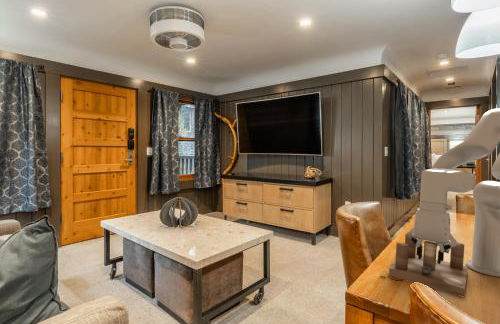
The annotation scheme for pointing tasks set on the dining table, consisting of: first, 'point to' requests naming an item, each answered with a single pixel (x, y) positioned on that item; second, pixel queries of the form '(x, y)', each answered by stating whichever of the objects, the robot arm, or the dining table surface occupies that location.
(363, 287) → the dining table surface
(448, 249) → the driftwood
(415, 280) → the stool
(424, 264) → the hinged leg
